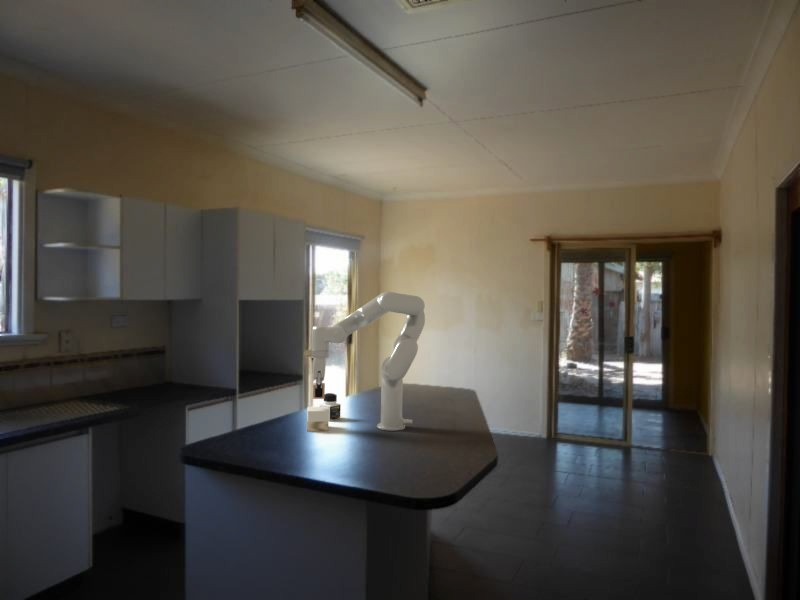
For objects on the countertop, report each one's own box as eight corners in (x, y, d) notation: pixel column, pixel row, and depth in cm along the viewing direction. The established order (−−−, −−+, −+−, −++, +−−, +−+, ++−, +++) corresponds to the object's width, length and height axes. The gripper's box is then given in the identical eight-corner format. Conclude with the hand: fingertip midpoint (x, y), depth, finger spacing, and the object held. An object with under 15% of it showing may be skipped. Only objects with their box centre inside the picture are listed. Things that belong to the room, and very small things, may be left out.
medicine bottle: (329, 421, 259) (330, 395, 259) (318, 419, 263) (319, 393, 263) (340, 419, 265) (341, 393, 265) (329, 416, 269) (330, 391, 269)
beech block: (328, 427, 250) (328, 416, 250) (328, 432, 241) (328, 421, 241) (307, 427, 248) (307, 417, 248) (306, 432, 240) (307, 421, 240)
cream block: (327, 416, 250) (328, 406, 250) (329, 421, 241) (329, 410, 241) (307, 417, 248) (307, 406, 248) (307, 421, 239) (308, 411, 239)
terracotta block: (324, 396, 247) (324, 383, 247) (324, 398, 242) (324, 385, 242) (312, 396, 247) (313, 383, 247) (312, 398, 242) (313, 384, 242)
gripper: (311, 352, 252) (310, 392, 252) (310, 356, 235) (309, 399, 236) (328, 352, 253) (327, 392, 253) (328, 356, 236) (327, 399, 237)
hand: (318, 395), depth 245 cm, fingers closed on terracotta block, 4 cm apart
